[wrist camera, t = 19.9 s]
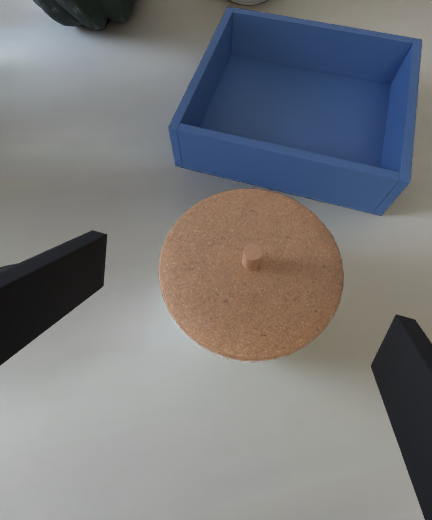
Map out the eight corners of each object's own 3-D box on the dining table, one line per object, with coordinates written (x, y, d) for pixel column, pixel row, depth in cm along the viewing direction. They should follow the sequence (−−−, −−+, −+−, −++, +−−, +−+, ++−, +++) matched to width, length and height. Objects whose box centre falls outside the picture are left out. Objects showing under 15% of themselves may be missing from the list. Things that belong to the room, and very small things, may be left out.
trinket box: (147, 305, 26) (110, 257, 17) (235, 219, 29) (242, 141, 20) (250, 405, 23) (269, 408, 14) (337, 296, 26) (395, 244, 17)
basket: (175, 165, 31) (167, 127, 27) (226, 51, 38) (227, 6, 34) (381, 215, 29) (410, 182, 24) (397, 84, 35) (422, 39, 31)
